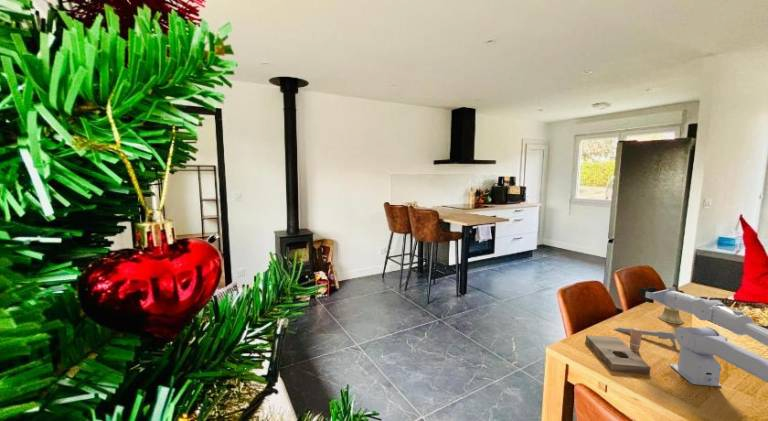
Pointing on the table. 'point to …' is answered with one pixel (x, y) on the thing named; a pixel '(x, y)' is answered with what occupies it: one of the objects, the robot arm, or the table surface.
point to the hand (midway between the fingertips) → (650, 292)
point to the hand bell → (671, 313)
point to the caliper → (653, 334)
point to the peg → (635, 339)
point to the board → (617, 354)
